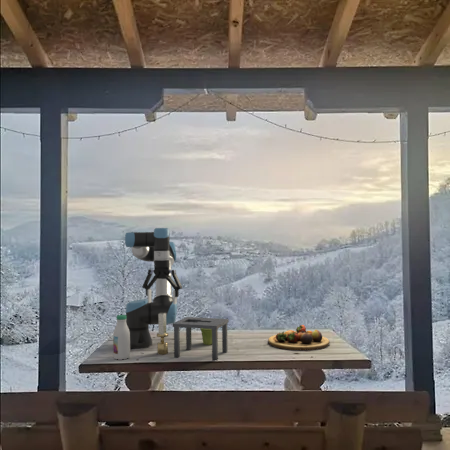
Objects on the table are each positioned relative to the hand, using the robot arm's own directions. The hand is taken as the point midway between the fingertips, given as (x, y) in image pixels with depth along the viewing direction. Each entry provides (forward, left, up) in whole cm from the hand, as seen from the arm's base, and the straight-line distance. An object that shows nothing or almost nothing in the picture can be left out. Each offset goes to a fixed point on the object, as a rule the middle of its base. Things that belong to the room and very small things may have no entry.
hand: (162, 303), depth 239 cm
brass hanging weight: (0, 0, -24) cm, 24 cm away
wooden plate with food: (+60, +39, -25) cm, 76 cm away
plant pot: (+15, +25, -25) cm, 38 cm away
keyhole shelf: (+19, +3, -24) cm, 31 cm away
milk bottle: (-15, -13, -25) cm, 32 cm away
